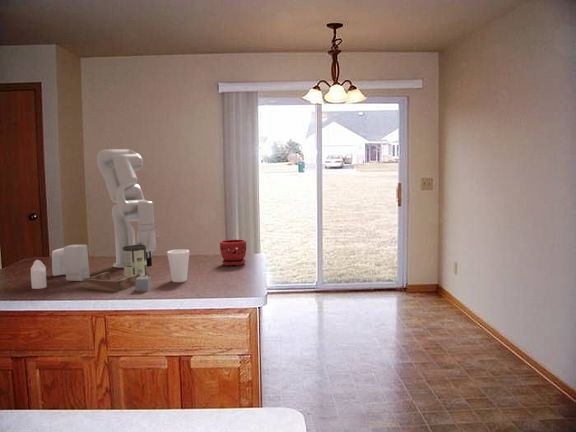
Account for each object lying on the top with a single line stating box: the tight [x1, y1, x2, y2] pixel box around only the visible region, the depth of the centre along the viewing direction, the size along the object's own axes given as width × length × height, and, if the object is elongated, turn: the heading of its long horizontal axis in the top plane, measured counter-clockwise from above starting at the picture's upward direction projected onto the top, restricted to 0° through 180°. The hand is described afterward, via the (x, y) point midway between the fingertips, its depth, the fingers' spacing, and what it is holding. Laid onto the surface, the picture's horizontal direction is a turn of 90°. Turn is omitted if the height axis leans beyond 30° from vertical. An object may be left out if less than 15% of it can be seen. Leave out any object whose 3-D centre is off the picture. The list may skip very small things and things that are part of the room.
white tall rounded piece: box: [30, 259, 48, 290], centre depth 246 cm, size 6×12×6 cm
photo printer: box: [51, 247, 66, 277], centre depth 272 cm, size 10×4×12 cm, turn 123°
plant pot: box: [219, 239, 247, 267], centre depth 289 cm, size 13×13×12 cm
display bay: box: [82, 271, 140, 292], centre depth 247 cm, size 16×17×4 cm
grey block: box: [135, 276, 152, 292], centre depth 239 cm, size 5×5×5 cm
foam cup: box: [166, 249, 190, 283], centre depth 254 cm, size 10×9×13 cm
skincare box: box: [63, 244, 91, 282], centre depth 260 cm, size 8×7×16 cm
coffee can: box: [123, 244, 148, 278], centre depth 262 cm, size 10×10×14 cm
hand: (148, 266), depth 272 cm, fingers closed
